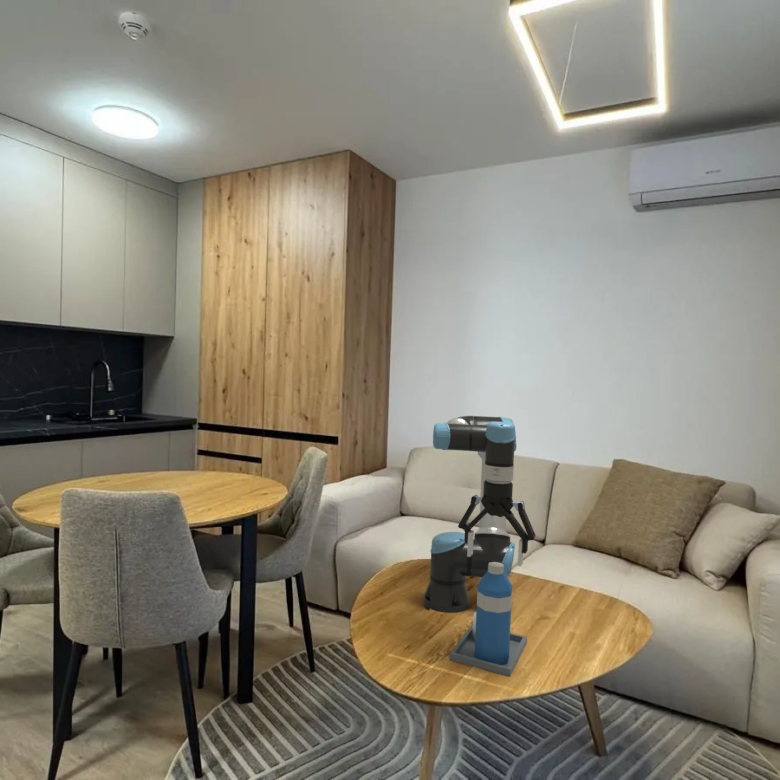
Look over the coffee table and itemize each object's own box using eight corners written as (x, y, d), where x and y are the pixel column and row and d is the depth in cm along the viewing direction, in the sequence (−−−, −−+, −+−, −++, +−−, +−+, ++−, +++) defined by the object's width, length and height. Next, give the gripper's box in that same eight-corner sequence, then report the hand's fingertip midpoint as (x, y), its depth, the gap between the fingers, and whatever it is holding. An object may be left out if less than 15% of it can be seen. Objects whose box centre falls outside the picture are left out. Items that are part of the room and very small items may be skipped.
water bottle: (470, 648, 153) (474, 558, 152) (504, 648, 153) (508, 558, 152) (478, 666, 143) (482, 570, 142) (513, 666, 144) (518, 571, 143)
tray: (449, 662, 146) (449, 653, 146) (472, 631, 164) (472, 623, 164) (510, 679, 139) (510, 669, 139) (526, 645, 157) (527, 636, 157)
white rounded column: (469, 640, 157) (471, 616, 157) (475, 633, 162) (476, 609, 161) (487, 644, 155) (488, 620, 155) (492, 637, 159) (493, 613, 159)
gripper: (448, 477, 149) (445, 555, 150) (544, 489, 138) (539, 573, 139) (457, 472, 156) (454, 547, 157) (549, 484, 145) (545, 564, 146)
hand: (494, 560), depth 148 cm, fingers open, 13 cm apart
